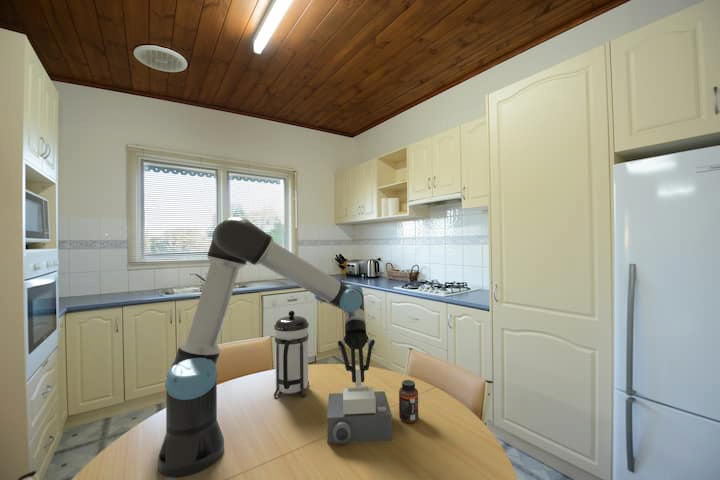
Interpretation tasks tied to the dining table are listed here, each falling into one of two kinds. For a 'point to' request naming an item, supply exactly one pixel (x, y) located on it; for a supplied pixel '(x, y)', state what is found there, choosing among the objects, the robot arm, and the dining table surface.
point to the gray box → (358, 421)
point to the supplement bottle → (408, 402)
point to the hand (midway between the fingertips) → (358, 392)
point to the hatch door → (359, 400)
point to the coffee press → (291, 354)
